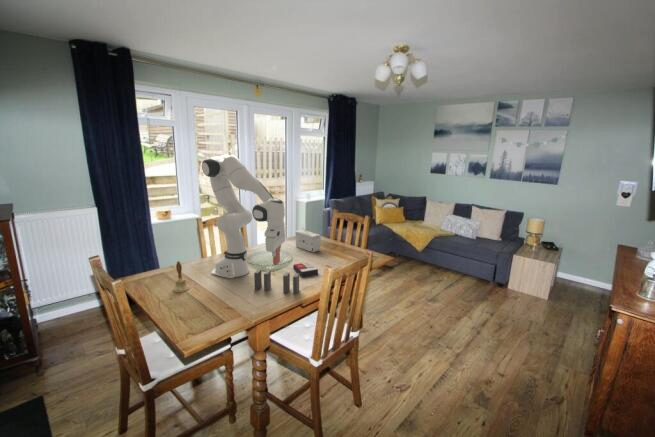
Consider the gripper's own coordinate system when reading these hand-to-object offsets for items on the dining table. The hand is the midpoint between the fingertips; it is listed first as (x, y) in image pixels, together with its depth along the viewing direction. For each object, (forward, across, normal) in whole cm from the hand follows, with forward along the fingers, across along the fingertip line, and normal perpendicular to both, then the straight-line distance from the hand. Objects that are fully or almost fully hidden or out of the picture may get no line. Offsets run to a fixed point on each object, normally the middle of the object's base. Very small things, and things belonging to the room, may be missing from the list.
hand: (276, 254), depth 165 cm
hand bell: (+21, +11, -51) cm, 56 cm away
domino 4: (+21, 0, +6) cm, 22 cm away
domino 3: (+5, 0, 0) cm, 5 cm away
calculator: (+22, -28, +9) cm, 37 cm away
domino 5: (+21, 0, +11) cm, 24 cm away
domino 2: (+21, 0, -5) cm, 22 cm away
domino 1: (+21, 0, -11) cm, 24 cm away
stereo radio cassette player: (+21, -71, -1) cm, 74 cm away
